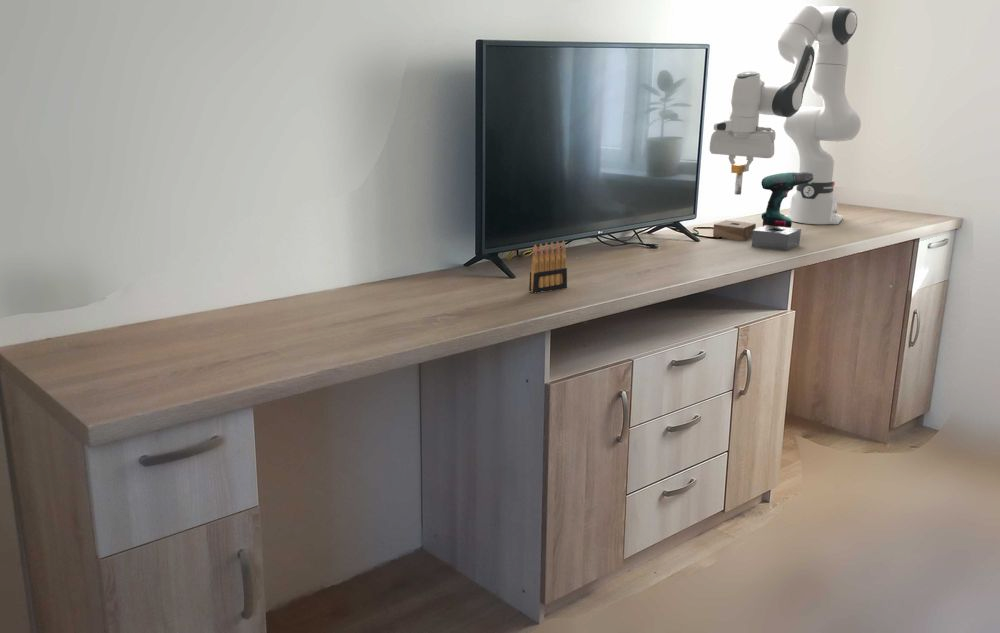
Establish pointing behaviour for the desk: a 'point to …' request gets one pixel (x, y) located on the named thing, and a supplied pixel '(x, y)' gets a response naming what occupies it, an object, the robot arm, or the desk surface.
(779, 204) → the power drill
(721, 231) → the wooden square hole block
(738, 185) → the block
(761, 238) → the block
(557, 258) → the ammunition clip
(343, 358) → the desk surface
